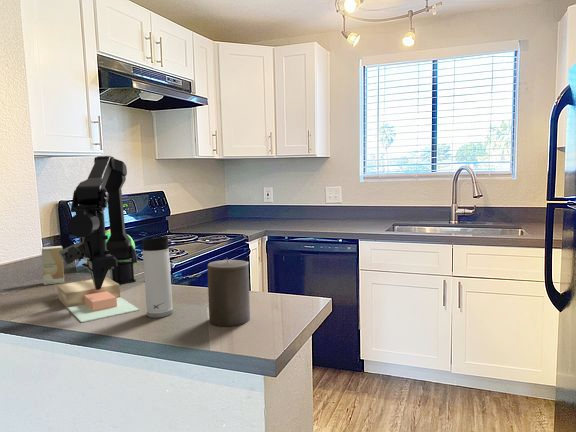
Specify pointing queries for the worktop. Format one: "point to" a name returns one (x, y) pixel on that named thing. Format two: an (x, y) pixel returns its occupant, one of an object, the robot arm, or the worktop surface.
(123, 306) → the mat
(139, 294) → the worktop surface
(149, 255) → the travel mug
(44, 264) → the skincare box
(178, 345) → the worktop surface
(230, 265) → the pillar candle
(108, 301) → the salmon pink block
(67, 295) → the tan block
